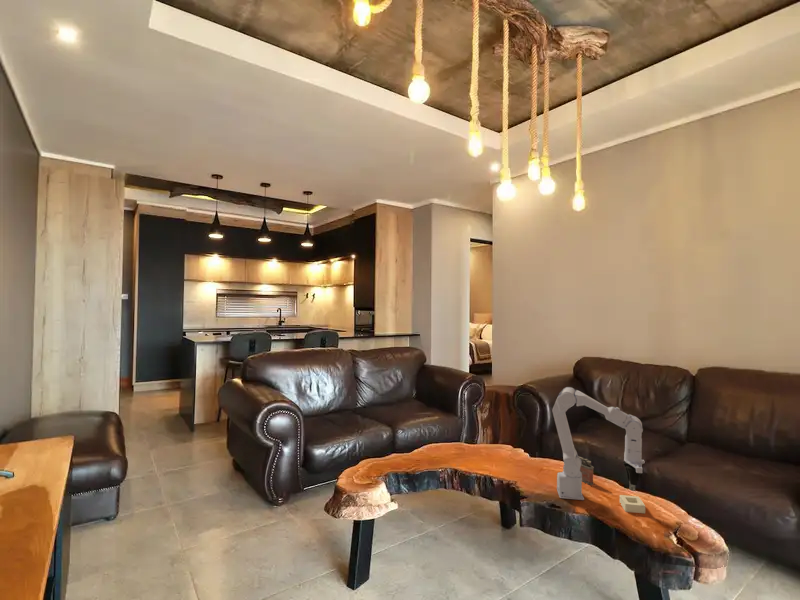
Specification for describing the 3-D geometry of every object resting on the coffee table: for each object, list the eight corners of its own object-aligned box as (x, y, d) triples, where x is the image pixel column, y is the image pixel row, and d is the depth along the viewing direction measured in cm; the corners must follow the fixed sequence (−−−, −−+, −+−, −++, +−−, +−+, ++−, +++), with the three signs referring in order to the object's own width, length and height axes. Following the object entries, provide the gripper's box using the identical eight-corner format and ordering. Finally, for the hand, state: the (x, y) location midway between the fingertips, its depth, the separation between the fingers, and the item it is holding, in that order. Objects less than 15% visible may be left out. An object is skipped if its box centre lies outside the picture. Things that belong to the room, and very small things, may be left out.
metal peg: (630, 490, 164) (631, 469, 163) (628, 488, 166) (628, 466, 165) (636, 491, 164) (636, 469, 163) (633, 488, 166) (634, 466, 165)
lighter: (595, 483, 185) (595, 461, 184) (590, 485, 183) (590, 463, 182) (579, 476, 192) (579, 454, 191) (574, 478, 190) (574, 456, 189)
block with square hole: (625, 511, 162) (625, 504, 162) (619, 502, 169) (619, 494, 169) (645, 513, 161) (645, 505, 161) (638, 503, 168) (638, 496, 168)
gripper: (651, 457, 156) (650, 493, 157) (637, 442, 170) (637, 475, 171) (631, 455, 157) (630, 491, 158) (618, 441, 172) (618, 473, 172)
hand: (632, 483), depth 165 cm, fingers closed on metal peg, 2 cm apart
